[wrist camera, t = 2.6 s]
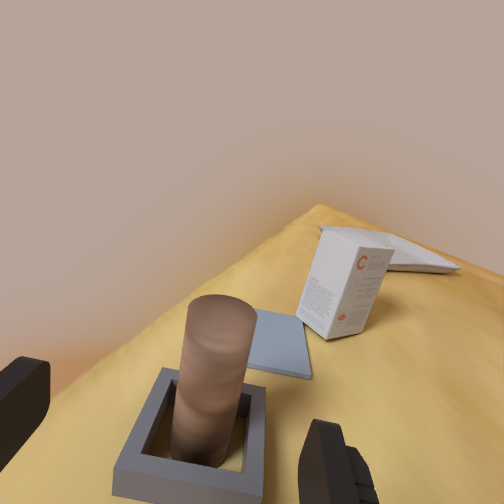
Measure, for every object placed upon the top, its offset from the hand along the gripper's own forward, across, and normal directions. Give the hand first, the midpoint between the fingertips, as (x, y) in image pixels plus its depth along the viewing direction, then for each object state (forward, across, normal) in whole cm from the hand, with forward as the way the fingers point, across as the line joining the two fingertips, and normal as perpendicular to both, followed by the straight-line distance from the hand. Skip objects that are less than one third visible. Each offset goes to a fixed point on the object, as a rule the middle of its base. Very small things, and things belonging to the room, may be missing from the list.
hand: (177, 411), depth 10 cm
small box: (+34, -14, +14) cm, 39 cm away
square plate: (+78, -36, +14) cm, 87 cm away
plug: (+11, 0, +15) cm, 19 cm away
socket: (+11, 0, +15) cm, 19 cm away
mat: (+27, -4, +14) cm, 31 cm away
